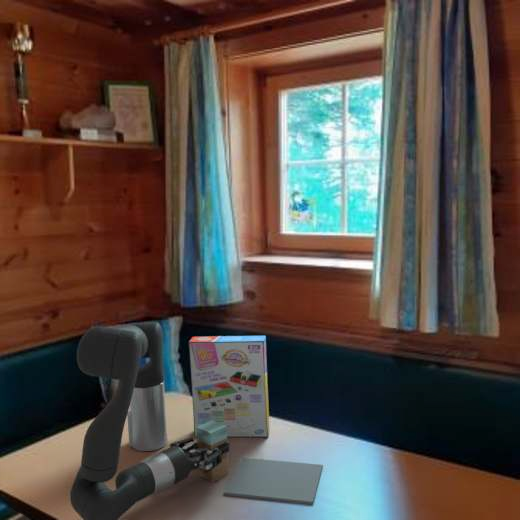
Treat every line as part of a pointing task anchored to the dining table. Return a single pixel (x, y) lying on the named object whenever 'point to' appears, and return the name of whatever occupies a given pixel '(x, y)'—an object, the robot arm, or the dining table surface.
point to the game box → (230, 383)
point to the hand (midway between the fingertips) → (220, 442)
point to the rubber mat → (275, 480)
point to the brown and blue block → (210, 438)
